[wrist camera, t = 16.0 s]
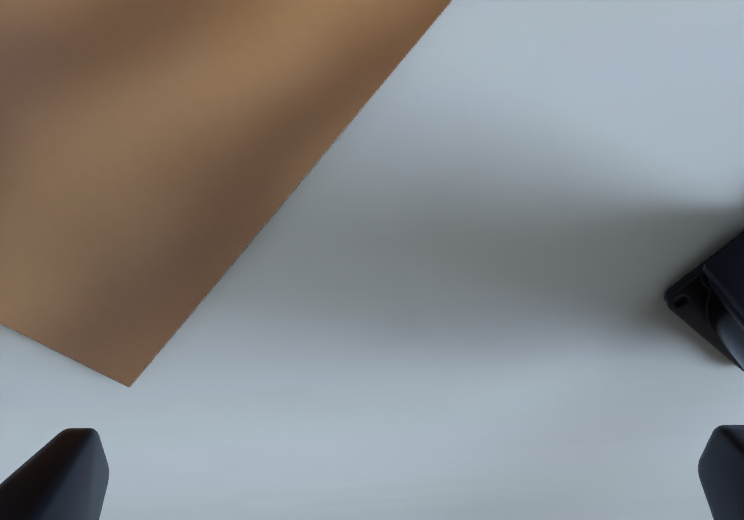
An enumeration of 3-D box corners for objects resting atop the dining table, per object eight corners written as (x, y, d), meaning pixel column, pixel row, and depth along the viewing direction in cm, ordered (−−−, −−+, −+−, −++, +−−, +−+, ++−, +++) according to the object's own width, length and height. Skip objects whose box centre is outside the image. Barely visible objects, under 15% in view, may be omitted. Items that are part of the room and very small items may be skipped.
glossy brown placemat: (464, -19, 17) (466, -17, 17) (132, 381, 25) (129, 388, 25) (-124, -591, 12) (-138, -605, 11) (-315, 157, 20) (-327, 162, 19)
